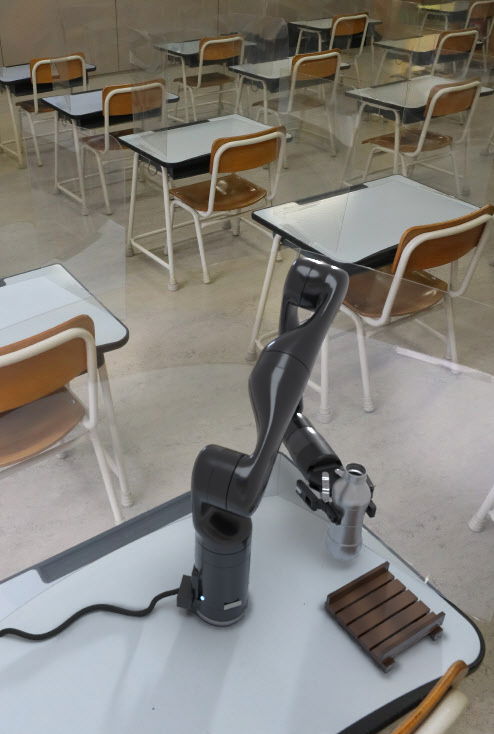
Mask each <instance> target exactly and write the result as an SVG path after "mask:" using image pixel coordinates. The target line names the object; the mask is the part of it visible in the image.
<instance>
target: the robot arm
mask: <svg viewBox="0 0 494 734" xmlns="http://www.w3.org/2000/svg"><path fill="white" fill-rule="evenodd" d="M349 285H350V276H349V273H348V272H347V271H346V270H344V269H342V268H340V267H338V266H335V265H332V264H328V263H326V262H323V261H319V260H316V259H313V258H309V257H305V256H299V257H297V258H296V259H295V260H294V261H293V262H292V264H291V265H290V267H289V269H288V272H287V273H286V276H285V280H284V283H283V287H282V293H281V300H280V311H279V317H278V328H277V337H276V338H274V339H272V340H271V341H270V342H268V343H267V344H265V346H264V347H263V348H262V350H260V353H259V354H258V357H257V359H256V361H255V363H254V365H253V367H252V369H251V371H250V374H249V376H248V380H247V393H248V398H249V402H250V407H251V410H252V414H253V418H254V423H255V429H256V430H255V431H256V444H255V448H254V450H253V452H252V453H251V454H247V453H245V452H241V451H238V450H235V449H232V448H229V447H226V446H224V445H220V444H216V443H209V444H206V445H205V446H204V447H202V449H200V451H199V453H198V454H197V456H196V458H195V460H194V463H193V467H192V470H191V476H190V477H191V478H190V499H191V515H192V516H191V517H192V526H193V530H194V562H193V567H192V569H191V574H190V575H187V574H182V577H181V581H180V585H179V587H177V588H173V589H169V590H166V591H163V592H161V593H159V594H157V595H156V596H154V597H152V599H151V601H150V602H149V605H148V607H147V608H144V609H140V610H133V609H127V608H123V607H120V606H117V605H114V604H109V603H108V604H107V603H95V604H91V605H88V606H85V607H83V608H81V609H80V610H78V611H76V612H75V613H73V614H72V615H70V617H68V618H67V619H66V620H65V621H63V622H62V623H61V624H59V625H58V626H56V627H55V628H53V629H51V630H49V631H46V632H43V633H30V632H27V631H24V630H21V629H18V628H16V627H15V628H14V627H5V628H2V629H1V630H0V638H1V637H3V636H6V635H14V636H17V637H19V638H22V639H25V640H28V641H38V642H39V641H43V640H48V639H49V638H53V637H55V636H56V635H58V634H60V633H61V632H63V631H64V630H66V629H67V628H68V627H69V626H70V625H72V624H73V623H74V622H76V620H78V619H79V618H81V617H82V616H84V615H86V614H88V613H91V612H94V611H110V612H113V613H117V614H120V615H124V616H129V617H143V616H146V615H149V614H151V613H152V612H153V611H154V609H155V607H156V605H157V603H158V602H160V601H161V600H163V599H166V598H168V597H173V596H176V607H177V608H180V609H185V610H190V612H191V613H195V614H197V615H198V616H199V617H200V619H202V620H203V621H205V622H206V623H208V624H210V625H213V626H219V627H226V626H231V625H235V624H237V623H238V622H239V621H241V620H242V619H243V618H244V617H245V615H246V613H247V610H248V606H249V586H250V585H249V584H250V571H251V557H252V556H251V555H252V542H253V530H254V529H253V528H254V526H253V520H252V516H253V515H254V514H255V513H256V511H258V509H259V507H260V506H261V503H262V500H263V498H264V495H265V494H266V490H267V488H268V486H269V482H270V479H271V475H272V473H273V470H274V467H275V464H276V461H277V457H278V455H279V451H280V449H281V446H282V444H283V445H284V447H285V449H286V450H287V452H288V454H289V456H290V458H291V460H292V462H293V464H294V465H295V467H296V468H297V469H298V471H299V472H300V474H301V475H302V477H303V478H304V480H303V479H296V483H295V493H296V495H298V497H299V498H300V499H301V500H302V502H304V503H305V505H306V506H307V507H308V509H309V510H311V511H312V512H317V511H318V510H321V511H322V512H324V514H325V515H326V517H327V518H328V520H329V522H330V521H331V522H332V523H335V524H336V526H337V525H341V521H342V516H341V514H340V513H339V511H338V510H337V509H336V508H335V507H334V505H333V503H332V501H330V498H332V487H333V485H334V483H335V482H336V481H337V480H338V479H339V478H341V477H342V476H343V472H344V468H345V466H344V465H343V463H342V461H341V459H340V458H339V456H338V454H337V453H336V452H335V450H334V449H333V448H332V446H331V445H330V444H329V443H328V441H327V440H326V439H325V438H324V436H323V435H322V434H321V433H320V432H319V431H318V430H317V428H316V427H315V426H314V425H313V423H312V422H311V421H310V420H309V418H308V417H307V416H306V415H304V414H303V412H304V409H305V408H304V406H305V405H304V396H303V395H304V392H305V389H306V387H307V386H308V383H309V380H310V378H311V375H312V372H313V369H314V367H315V365H316V362H317V358H318V356H319V353H320V351H321V348H322V346H323V343H324V341H325V339H326V338H327V334H328V332H329V330H330V329H331V327H332V325H333V323H334V321H335V319H336V317H337V315H338V313H339V311H340V309H341V307H342V305H343V303H344V300H345V298H346V296H347V293H348V290H349ZM299 308H300V309H303V310H306V311H309V312H311V313H313V314H312V315H311V316H310V317H309V318H308V319H306V320H305V321H304V322H302V323H300V319H299ZM366 483H367V485H368V486H369V488H370V492H371V499H370V502H369V505H368V507H367V510H366V512H365V514H366V516H368V518H369V519H372V518H375V517H376V512H377V505H376V504H375V502H374V501H373V500H372V499H373V496H374V491H375V485H374V483H373V482H372V480H371V477H370V476H369V475H368V473H367V479H366ZM312 490H313V491H312ZM314 491H315V492H318V493H319V497H320V498H319V497H318V496H317V495H316V494H315V493H314Z"/></svg>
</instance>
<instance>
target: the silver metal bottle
mask: <svg viewBox="0 0 494 734" xmlns="http://www.w3.org/2000/svg"><path fill="white" fill-rule="evenodd" d="M344 467H345V468H344V472H343V476H342V477H341V478H339V479H338V480H337V481H336V482H335V483H334V485H333V487H332V497H331V502H332V503H333V505H334V507H335V508H336V509H337V510H338V511H339V513H340V514H341V516H342V521H341V525H337V526H336V524H335V523H332V522H331V521H330V520H329V525H328V527H327V530H326V532H325V535H324V546H325V549H326V551H327V552H328V554H329V555H330V556H331V557H333V558H335V559H336V560H338V561H344V562H345V561H346V562H347V561H352V560H354V559H357V557H358V556H359V555H360V553H361V551H362V549H363V545H364V544H363V540H364V539H363V524H364V519H365V516H366V510H367V507H368V505H369V502H370V499H371V492H370V488H369V486H368V485H367V483H366V479H367V474H368V470H367V468H366V466H365V465H363V464H362V463H359V462H354V461H353V462H347V463H346V464H345V466H344ZM371 500H372V499H371Z"/></svg>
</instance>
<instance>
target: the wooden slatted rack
mask: <svg viewBox="0 0 494 734" xmlns="http://www.w3.org/2000/svg"><path fill="white" fill-rule="evenodd" d="M390 566H391V564H390V562H389V561H388V560H386V561H384V562H382V563H381V564H379V565H377V566H375V567H374V568H371V569H370V570H369V571H366V572H365V573H363V574H362V575H360V576H358V577H356V578H354V579H353V580H351V581H349V582H348V583H345V584H344V585H343V586H341V587H338V588H337V589H335V590H333V591H332V592H330V593H328V594H327V595H326V599H325V601H324V606H323V608H324V609H325V610H326V611H327V613H328V614H330V616H331V617H332V618H333V619H334V620H335V621H336V622H337V623H338V624H339V625H340V627H342V629H343V630H344V631H345V632H347V635H349V636H350V637H351V638H352V639H353V640H354V642H355V643H356V644H357V645H358V646H359V647H360V648H361V649H362V650H363V651H364V652H365V653H366V654H367V656H368V657H369V658H370V659H371V660H372V661H373V662H374V663H375V664H376V665H377V666H378V667H379V669H381V670H382V671H383V673H385V674H386V673H387V672H389V671H391V670H392V669H393V668H395V665H396V660H395V659H394V657H395V656H397V655H398V654H400V653H402V652H403V651H405V650H406V649H408V648H410V647H411V646H412V645H414V644H416V643H417V642H419V641H420V640H421V639H423V638H424V637H426V636H428V637H429V638H430V639H431V640H432V641H435V640H438V638H440V637H442V635H443V632H444V628H442V626H443V624H444V621H445V618H446V613H445V611H443V610H442V611H440V612H438V613H437V614H436V613H435V612H434V611H433V610H432V611H431V608H430V607H429V606H428V605H427V604H426V603H425V602H423V600H421V599H419V597H418V596H417V595H416V594H415V593H414V592H413V591H412V590H410V589H409V588H408V589H407V586H406V585H405V584H404V583H403V582H401V581H400V579H398V578H396V576H395V575H394V574H393V573H392V572H391V571H390V570H389V569H390Z"/></svg>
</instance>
